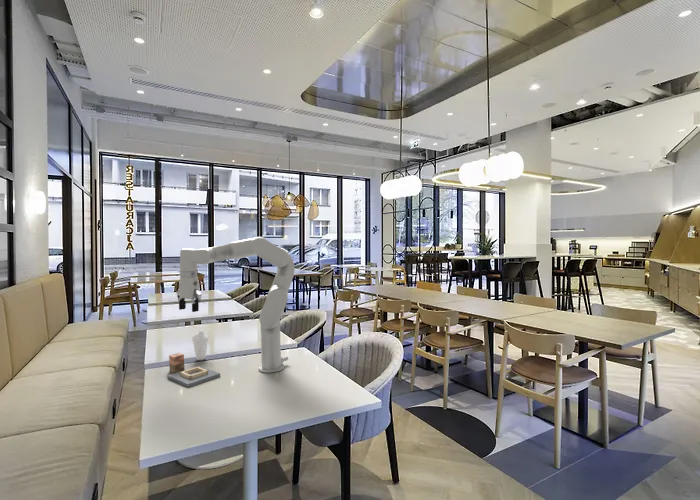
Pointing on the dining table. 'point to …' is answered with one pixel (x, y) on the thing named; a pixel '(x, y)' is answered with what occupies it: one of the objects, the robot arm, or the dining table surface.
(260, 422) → the dining table surface
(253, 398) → the dining table surface
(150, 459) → the dining table surface
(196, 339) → the soft serve ice cream cone
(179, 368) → the block stack
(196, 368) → the slate board
